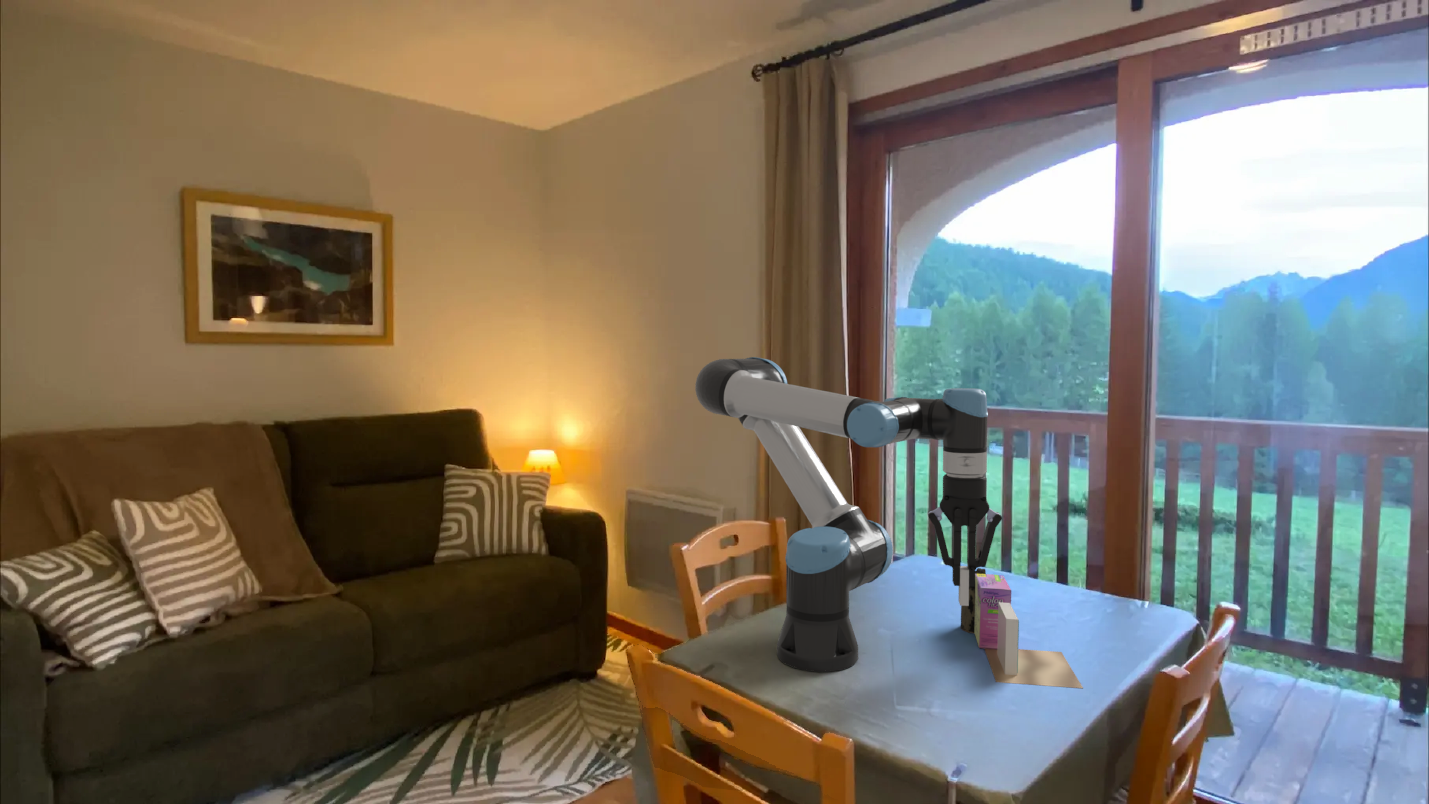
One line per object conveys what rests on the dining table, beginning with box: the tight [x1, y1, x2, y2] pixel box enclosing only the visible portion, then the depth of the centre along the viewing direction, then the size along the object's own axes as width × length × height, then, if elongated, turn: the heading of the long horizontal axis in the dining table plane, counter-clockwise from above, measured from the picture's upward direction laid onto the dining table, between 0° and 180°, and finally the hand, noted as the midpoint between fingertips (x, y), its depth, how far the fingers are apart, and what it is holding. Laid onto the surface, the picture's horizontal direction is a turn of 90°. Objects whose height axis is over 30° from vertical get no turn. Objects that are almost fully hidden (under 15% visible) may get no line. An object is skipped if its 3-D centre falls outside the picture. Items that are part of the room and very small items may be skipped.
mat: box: [983, 648, 1084, 689], centre depth 144 cm, size 14×16×1 cm
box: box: [973, 573, 1012, 650], centre depth 156 cm, size 10×6×12 cm, turn 168°
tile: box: [997, 602, 1020, 675], centre depth 144 cm, size 2×9×10 cm, turn 169°
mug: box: [960, 567, 987, 634], centre depth 163 cm, size 8×6×12 cm
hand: (963, 603), depth 145 cm, fingers closed
